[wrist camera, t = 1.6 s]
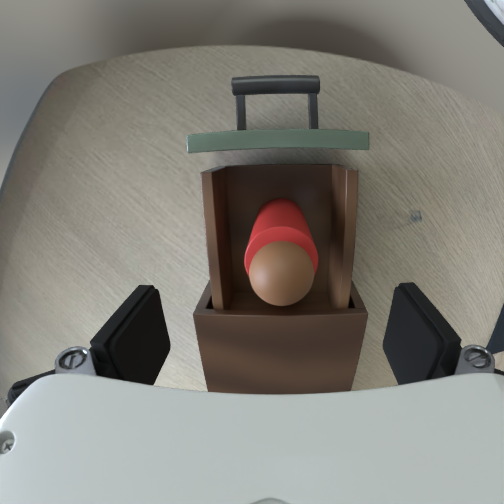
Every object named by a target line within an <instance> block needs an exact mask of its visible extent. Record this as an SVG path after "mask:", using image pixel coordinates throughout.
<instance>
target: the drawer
mask: <svg viewBox="0 0 504 504" xmlns="http://www.w3.org/2000/svg"><path fill="white" fill-rule="evenodd" d="M231 86H232V93H233V95H234V96H236V115H237V131H224V132H212V133H202V134H192V135H187V152H188V153H198V152H210V151H224V150H241V149H266V148H328V149H353V150H369V132H364V131H350V130H330V129H318V106H317V94H319V92H320V80H319V76H313V75H267V76H247V77H234V78H232V81H231ZM256 94H308V113H309V129H259V130H246V108H245V96H244V95H256ZM200 176H201V190H202V202H203V214H204V225H205V236H206V246H207V256H208V266H209V275H210V284H211V292H212V300H213V309H219V310H322V309H348V305H349V297H350V289H351V280H352V271H353V261H354V249H355V236H356V221H357V200H358V170H356V169H353V168H349V167H346V166H343V165H339V164H256V165H233V166H218V167H215V168H212V169H209V170H206V171H204V172H201V173H200ZM276 198H285V199H289V200H291V201H293V202H294V203H296V204H297V205H298V206H299V207H300V208H301V210H302V212H303V214H304V217H305V220H306V222H307V225H308V228H309V230H310V233H311V236H312V239H313V241H314V244H315V247H316V250H317V254H318V266H317V270H316V273H315V275H314V279H313V283H312V286H311V288H310V290H309V291H308V293H307V294H306V295H305V296H304V297H303V298H302V299H301V300H299V301H298V302H296V303H293V304H290V305H286V306H277V305H273V304H270V303H267V302H266V301H264V300H263V299H261V298H260V297H259V296H258V295H257V294H256V293H255V291H254V289H253V288H252V285H251V282H250V277H249V276H248V274H247V271H246V268H245V253H246V249H247V246H248V243H249V239H250V236H251V233H252V229H253V226H254V223H255V219H256V216H257V213H258V211H259V209H260V208H261V207H262V205H264V204H265V203H266V202H267V201H269V200H272V199H276Z"/></svg>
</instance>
